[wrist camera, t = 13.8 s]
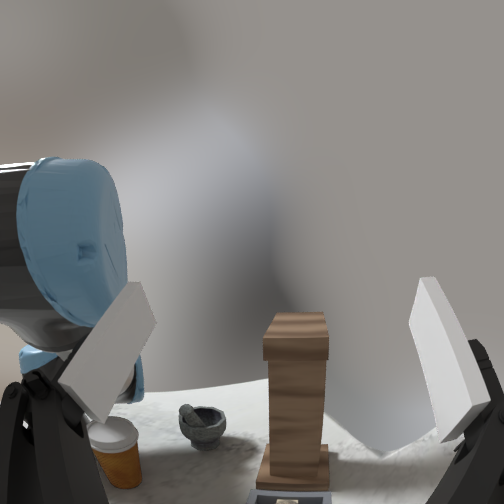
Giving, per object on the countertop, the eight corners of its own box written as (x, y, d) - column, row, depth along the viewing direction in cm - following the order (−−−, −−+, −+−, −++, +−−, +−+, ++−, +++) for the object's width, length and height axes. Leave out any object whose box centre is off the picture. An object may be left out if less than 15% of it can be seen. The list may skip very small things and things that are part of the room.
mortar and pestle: (197, 427, 58) (192, 383, 58) (234, 436, 54) (231, 390, 55) (170, 450, 47) (161, 403, 48) (210, 463, 44) (204, 415, 44)
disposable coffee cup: (160, 473, 39) (147, 424, 40) (132, 501, 30) (112, 451, 30) (120, 458, 42) (106, 410, 42) (91, 481, 33) (71, 430, 33)
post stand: (328, 498, 32) (345, 336, 33) (253, 496, 35) (246, 337, 35) (326, 445, 48) (334, 311, 49) (268, 445, 50) (265, 312, 51)
